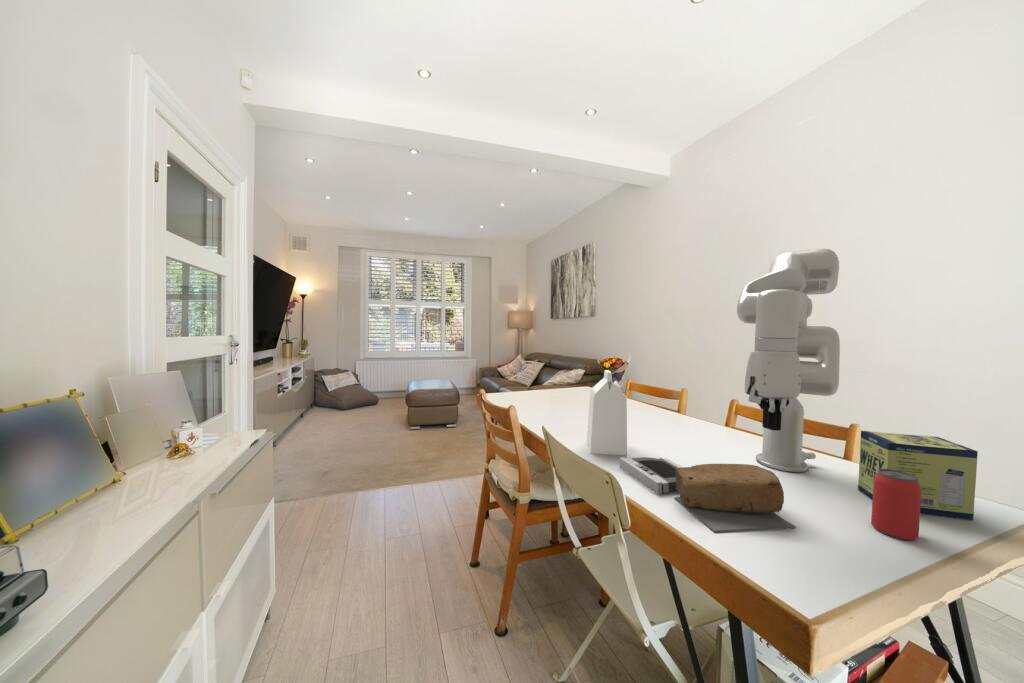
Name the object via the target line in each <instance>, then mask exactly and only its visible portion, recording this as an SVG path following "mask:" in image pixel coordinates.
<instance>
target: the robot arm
mask: <svg viewBox="0 0 1024 683" xmlns="http://www.w3.org/2000/svg"><path fill="white" fill-rule="evenodd" d="M839 274H840V261H839V257H838V255H837V253H836V252H835V251H834V250H832V249H830V248H816V249H807V250H806V249H805V250H797V251H796V250H795V251H794V250H793V251H788V252H784V253H781V254H779V255H777V256H776V257H775V258H774V259H773V260H772V262H771V264H770V267H769V271H768V272H767V273H766V274H765V275H763V276H761V277H758V278H756V279H754V280H752V281H750V282H748V283H747V284H746V285H745V286H744V287H743V288H742V291H741V293H740V295H739V298H738V301H737V305H736V314H737V317H738V319H739V320H740V322H743V323H745V324H750V325H751V324H752V325H755V329H754V351H751V352H750V355H749V356H748V359H747V360H748V361H747V365H746V371H745V378H744V379H745V380H744V393H745V394H746V395H749V397H748V402H751V403H754V404H757V405H758V406H759V408H760V410H761V411H762V430H763V431H762V450H761V453H757V454H756V455H755V461H757V463H759V464H760V465H762V466H766V467H768V468H771V469H775V470H779V471H782V472H783V471H785V472H789V473H790V472H792V473H804V472H807V471H808V470H809V465H808V463H806V462H805V461H807V460H815V459H816V458H817V455H816V454H815V452H812V451H811V452H810V451H809V452H806V451H803V439H804V438H803V437H804V420H805V419H804V416H805V410H804V406H803V405H802V403H801V402H800V400H799V399H798V398H797V397H799V396H800V394H802V395H803V394H804V395H812V396H813V395H814V396H822V397H828V396H829V397H830V396H833V395H835V394H836V393H837V391H838V389H839V386H840V385H839V384H840V363H841V361H840V358H841V357H840V355H841V353H840V352H841V348H840V347H841V341H840V335H839V332H838V331H837V330H836V329H835V328H833V327H831V326H827V325H826V326H825V325H808V324H807V323H808V319H809V317H810V316H811V315H812V312H813V301H812V299H811V298H810V297H809V295H810V296H811V295H825V294H826V295H828V294H830V293H832V292H834V291H835V290H836V288H837V285H838V281H839ZM800 358H801V359H803V358H804V359H805V358H806V359H815V360H816V361H808V360H806V361H805V360H800Z"/></svg>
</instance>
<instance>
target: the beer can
mask: <svg viewBox="0 0 1024 683" xmlns="http://www.w3.org/2000/svg"><path fill="white" fill-rule="evenodd" d="M871 503H872V505H871V520H870V521H871V522H870V524H871V526H873V528H874V529H876V530H877V531H878V532H880V533H882V534H885V535H887V536H889V537H891V538H892V537H893V538H895V539H899V540H905V541H913V540H917V539H918V538H919V535H920V534H919V533H920V522H921V521H920V518H921V514H920V507H921V487H920V484H919V482H918V478H917V477H916V476H914V475H912V474H909V473H906V472H902V471H898V470H892V469H879V470H878V473H877V474H876V475H875V478H874V484H873V500H872V502H871Z"/></svg>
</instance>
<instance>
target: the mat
mask: <svg viewBox="0 0 1024 683" xmlns="http://www.w3.org/2000/svg"><path fill="white" fill-rule="evenodd" d="M674 500H675V501H676V502H678V503H679V504H680V505H681V506H682V507H683V508H685V510H686V511H688V512H689V513H691V515H693V516H694V517H695V518H696V519H697V520H699V521H700V522H701V523H702V524H703V525H704V526H705V527H707V528H708V529H709V530H711V532H713V533H733V532H751V531H752V532H753V531H768V530H769V531H770V529H772V530H788V529H787V528H791V529H796V528H797V526H796V525H794V524H793V523H791V522H790V521H788V520H786V519H785V518H783V517H781V516H780V515H779V514H777V513H776V512H739V511H720V510H709V509H703V508H701V507H688V506H686V505H685V504H684V503H683V501H682V499H681V498H680V496H674Z"/></svg>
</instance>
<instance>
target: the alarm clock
mask: <svg viewBox="0 0 1024 683" xmlns="http://www.w3.org/2000/svg"><path fill="white" fill-rule="evenodd" d="M682 467H683V466H682V465H679V464H678V463H676V462H674V461H672V460H670V459H668V458H666V457H659V458H657V457H647V456H644V457H643V456H642V457H641V456H640V457H632V458H631V457H628V458H625V457H623V456H622V457H619V468H620V469H622V470H623V471H624V472H626V473H627V474H629V475H630V476H631V477H632V478H634V479H635V480H637V481H638V482H640V483H641V484H642V485H643V486H645V487H646V486H647V488H648V489H649V488H650V489H649V490H650V491H652V492H653V491H654V492H653V493H655V494H656V495H662V494H663V493H669V492H670V491H676V490H677V487H676V484H677V483H676V476H675V474H676V472H675V471H676V469H677V468H682Z"/></svg>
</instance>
